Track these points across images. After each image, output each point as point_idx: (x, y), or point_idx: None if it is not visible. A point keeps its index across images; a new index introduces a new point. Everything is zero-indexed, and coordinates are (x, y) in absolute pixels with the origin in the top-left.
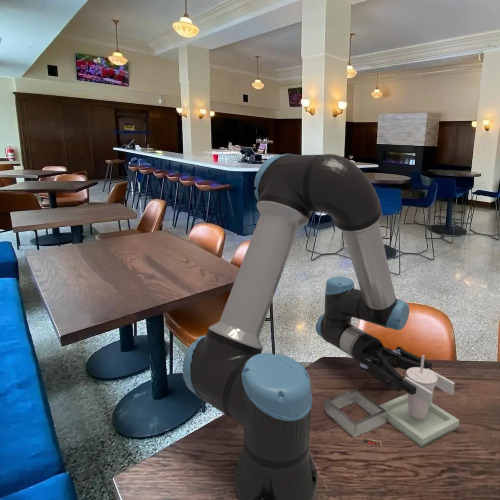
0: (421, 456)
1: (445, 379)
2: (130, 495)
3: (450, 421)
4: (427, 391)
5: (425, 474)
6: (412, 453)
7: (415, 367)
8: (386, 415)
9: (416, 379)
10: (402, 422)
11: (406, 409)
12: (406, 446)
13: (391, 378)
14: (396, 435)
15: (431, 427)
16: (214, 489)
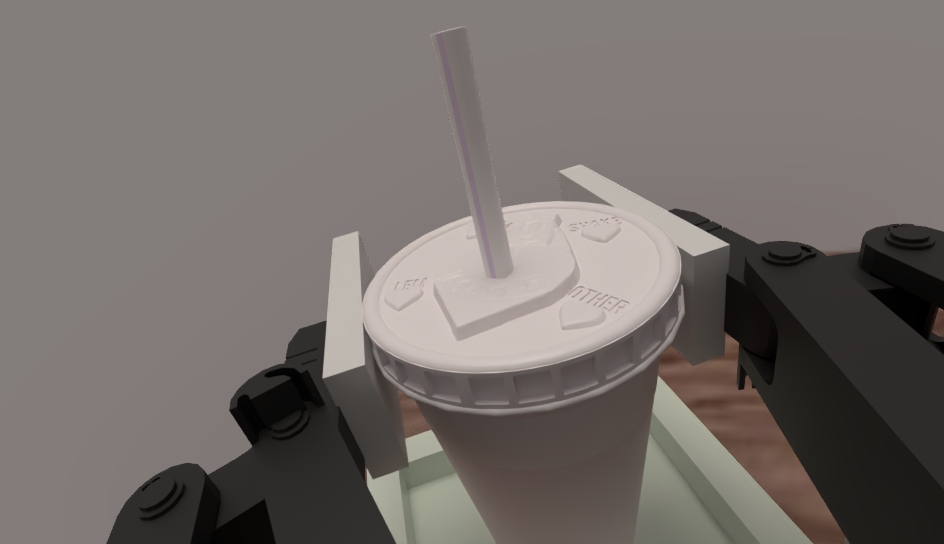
0: (664, 357)
1: (353, 257)
2: None
3: (420, 446)
4: (590, 172)
5: None
6: (701, 368)
7: (484, 360)
8: (847, 540)
9: (608, 223)
10: (719, 460)
11: None
12: (719, 399)
13: (913, 227)
14: (762, 465)
15: None
16: None
